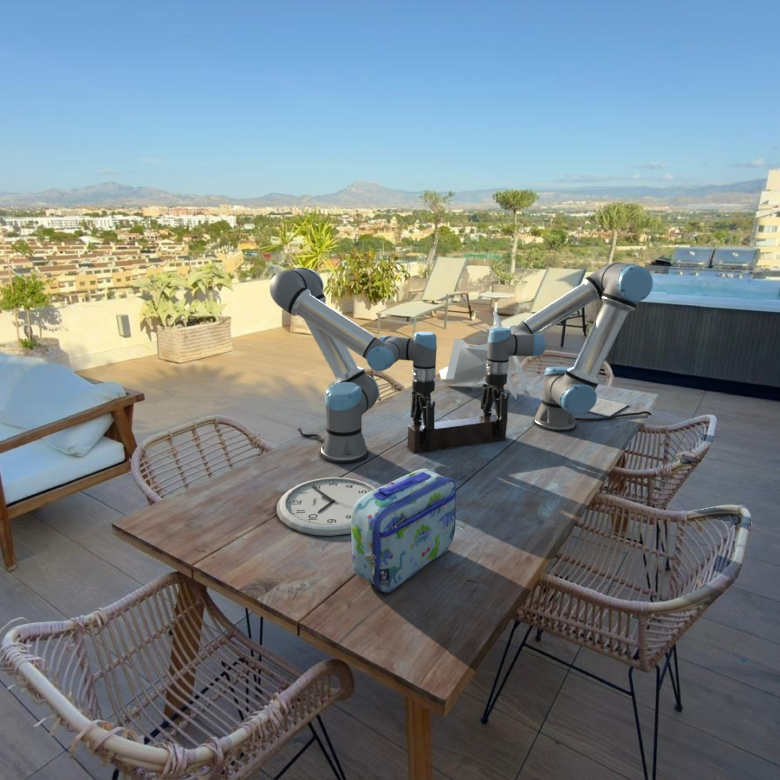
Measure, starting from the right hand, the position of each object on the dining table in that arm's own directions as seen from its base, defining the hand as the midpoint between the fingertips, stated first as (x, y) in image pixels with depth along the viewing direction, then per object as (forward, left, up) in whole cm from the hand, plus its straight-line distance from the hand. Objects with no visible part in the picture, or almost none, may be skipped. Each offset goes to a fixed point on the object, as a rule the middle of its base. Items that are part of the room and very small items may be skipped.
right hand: (491, 433), depth 190 cm
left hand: (+25, +13, 0) cm, 28 cm away
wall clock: (+47, +56, -2) cm, 73 cm away
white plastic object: (+2, -55, -2) cm, 55 cm away
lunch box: (+24, +80, -2) cm, 83 cm away
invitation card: (-50, -43, -2) cm, 66 cm away
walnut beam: (+12, +7, -2) cm, 14 cm away
